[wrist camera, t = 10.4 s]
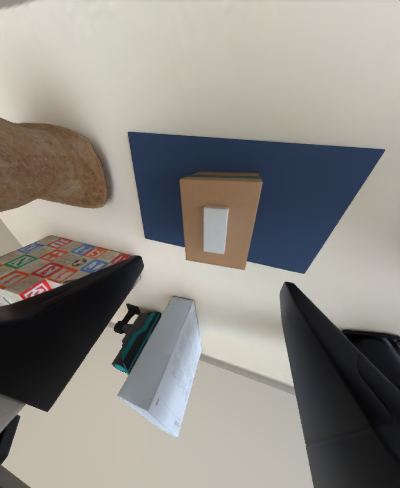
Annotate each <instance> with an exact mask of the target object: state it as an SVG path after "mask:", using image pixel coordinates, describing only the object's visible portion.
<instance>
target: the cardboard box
mask: <svg viewBox="0 0 400 488" xmlns="http://www.w3.org/2000/svg"><path fill="white" fill-rule="evenodd" d="M262 183H263V182H262V178H261V176H259V174H258V173H248V172H197V173H194V174H192V175H187V176H185V177H184V178H182V179H180V191H181V203H182V216H183V228H184V241H185V253H186V260H189V261H195V262H201V263H207V264H213V265H218V266H224V267H230V268H236V269H242V270H245V266H246V261H247V257H248V252H249V247H250V242H251V237H252V232H253V227H254V222H255V218H256V213H257V208H258V203H259V198H260V193H261V188H262Z"/></svg>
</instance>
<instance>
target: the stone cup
mask: <svg viewBox="0 0 400 488" xmlns="http://www.w3.org/2000/svg"><path fill="white" fill-rule="evenodd" d="M37 198H39V199H44V200H48V201H52V202H59V203H62V204H67V205H72V206H77V207H84V208H99V207H103V206H104V205H105V203H106V201H107V184H106V177H105V174H104V170H103V167H102V164H101V161H100V159H99V157H98V156H97V155H96V154H95V152H94V150H93V147H92V145H91V143H90V142H89V141H88V140H87V139H86V138H85V137H84V136H82V135H80V134H78V133H76V132H74V131H71V130H69V129H66V128H63V127H59V126H55V125H49V124H33V123H20V124H16V123H12V122H10V121H7V120H5V119H2V118H0V212H2V211H6V210H10V209H14V208H17V207H20V206H22V205H25V204H27V203H29V202H31V201H33V200H35V199H37Z"/></svg>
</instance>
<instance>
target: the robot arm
mask: <svg viewBox="0 0 400 488" xmlns="http://www.w3.org/2000/svg"><path fill="white" fill-rule="evenodd" d="M143 268H144V264H143V260H142V257H141V256H137V255H134V256H132V257H129V258H127V259H125V260H122V261H120V262H117V263H115V264H112V265H110V266H108V267H105V268H103V269H100V270H98V271H95V272H93V273H91V274H88V275H86V276H83V277H81V278H78V279H76V280H73V281H71V282H69V283H66V284H64V285H61V286H59V287H56V288H53V289H51V290H48V291H45V292H43V293H40V294H37V295H34V296H32V297H29V298H26V299H23V300H21V301H18V302H15V303H12V304H9V305H5V306H1V307H0V488H30V487H29V486H27V485H26V484H25V483H24V482H22V481H21V480H20V479H19V478H17V477H16V476H15V475H13V474H12V473H11V472H9V471H8V470H7V469H6V468H4V467H3V466H2V465H1V464H2V463H3V461H4V460H5V459H6V458H7V456H8V454H9V451H10V447H11V444H12V441H13V438H14V435H15V432H16V428H17V426H18V422H19V419H20V416H19V415H18V412H19V411H20V410H21V409H22V408H23V407H24V406H25V405H26V404H28V405H30V406H33V407H36V408H38V409H41V410H43V411H46V412H48V411H49V410H50V408H51V407H52V406H53V404H54V403H55V401H56V400H57V398H58V397H59V395H60V394H61V392H62V391H63V390H64V388H65V387H66V385H67V384H68V382H69V381H70V379H71V378H72V376H73V375H74V373H75V372H76V370H77V369H78V368H79V366H80V365H81V363H82V362H83V360H84V359H85V357H86V355H87V354H88V353H89V351H90V350H91V348H92V347H93V345H94V344H95V342H96V341H97V340H98V338H99V337H100V335H101V334H102V332H103V331H104V329H105V328H106V326H107V325H108V323H109V322H110V320H111V319H112V317H113V316H114V315H115V313H116V312H117V310H118V309H119V307H120V306H121V304H122V303H123V301H124V300H125V298H126V297H127V295H128V294H129V293H130V291H131V290H132V288H133V286H134V285H135V283H136V281H137V279H138V277H139V276H140V274H141V272H142V270H143ZM280 306H281V319H282V327H283V332H284V337H285V342H286V347H287V352H288V357H289V362H290V368H291V373H292V378H293V383H294V388H295V393H296V398H297V403H298V408H299V413H300V419H301V424H302V429H303V434H304V439H305V444H306V450H307V455H308V459H309V465H310V470H311V475H312V480H313V485H314V488H400V336H394V335H384V334H374V333H364V332H354V331H343V332H341V331H340V330H339V329H338V328H337V327H336V326H335V325H334V324H333V323H332V322H331V321H330V320H329V319H328V318H327V317H326V316H325V315H324V314H323V313H322V312H321V311H320V310H319V309H318V308H317V307H316V306H315V305H314V304H313V303H312V302H311V301H310V299H309V298H308V297H307V296H306V295H305V294H304V293H303V292H302V291H301V290H300V289H299V288H298V287H297V286H296V285H295V284H294V283H291V282H284V284H283V286H282V289H281V291H280Z"/></svg>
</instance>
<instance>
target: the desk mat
mask: <svg viewBox="0 0 400 488" xmlns="http://www.w3.org/2000/svg"><path fill="white" fill-rule="evenodd" d="M128 136H129V142H130V148H131V154H132V161H133V167H134V173H135V179H136V185H137V191H138V197H139V203H140V209H141V216H142V222H143V228H144V234H145V238H146V239H150V240H155V241H159V242H164V243H168V244H173V245H177V246H181V247H185V241H184V228H183V216H182V203H181V191H180V179H182V178H184V177H185V176H187V175H192V174H194V173H197V172H248V173H258V174H259V176H261V178H262V182H263V183H262V188H261V193H260V198H259V203H258V208H257V213H256V218H255V222H254V227H253V232H252V237H251V242H250V247H249V252H248V257H247V261H249V262H253V263H258V264H262V265H266V266H271V267H275V268H280V269H284V270H289V271H293V272H298V273H302V274H305V272H306V271H307V269H308V267H309V266H310V264H311V263H312V261H313V260H314V258H315V257H316V255H317V254H318V252H319V251H320V249H321V248H322V246H323V245H324V243H325V241H326V240H327V238H328V237H329V235H330V234H331V232H332V231H333V229H334V228H335V226H336V225H337V223H338V222H339V220H340V219H341V217H342V215H343V214H344V212H345V211H346V209H347V208H348V206H349V205H350V203H351V202H352V200H353V199H354V197H355V196H356V194H357V193H358V191H359V189H360V188H361V186H362V185H363V183H364V182H365V180H366V179H367V177H368V176H369V174H370V173H371V171H372V170H373V168H374V167H375V165H376V164H377V162H378V160H379V159H380V157H381V156H382V154H383V153H384V151H385V150H383V149H369V148H355V147H340V146H326V145H311V144H297V143H282V142H268V141H253V140H239V139H225V138H210V137H196V136H181V135H167V134H152V133H138V132H128Z"/></svg>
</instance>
